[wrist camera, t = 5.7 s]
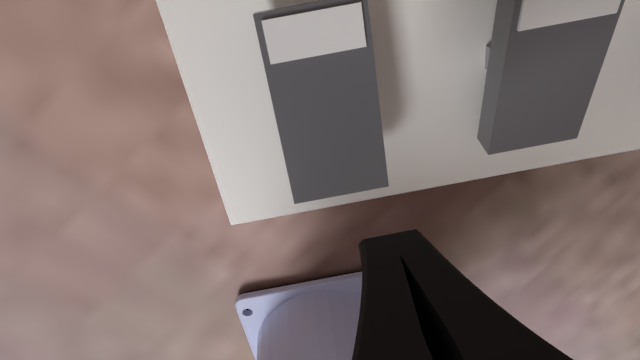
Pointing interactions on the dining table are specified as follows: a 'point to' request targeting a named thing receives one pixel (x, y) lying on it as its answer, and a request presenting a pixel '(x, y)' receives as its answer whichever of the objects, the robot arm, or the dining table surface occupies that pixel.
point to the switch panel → (382, 99)
